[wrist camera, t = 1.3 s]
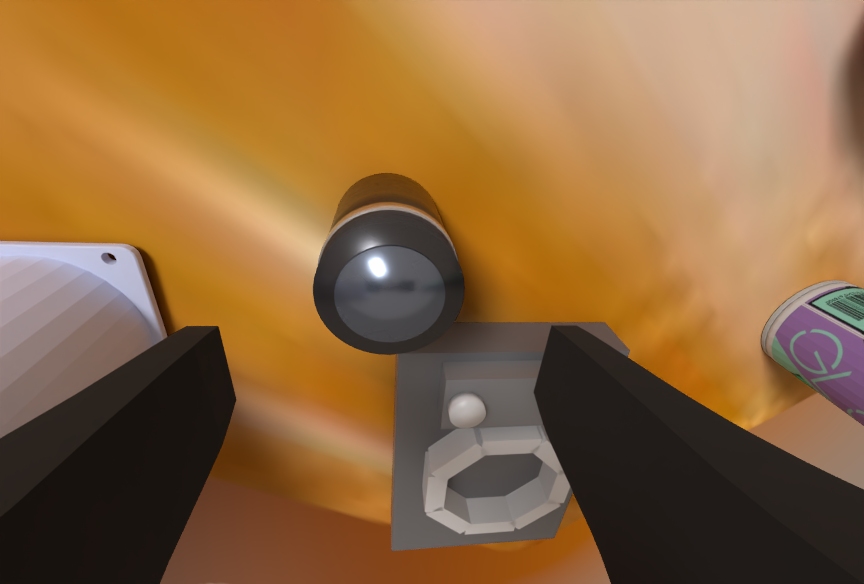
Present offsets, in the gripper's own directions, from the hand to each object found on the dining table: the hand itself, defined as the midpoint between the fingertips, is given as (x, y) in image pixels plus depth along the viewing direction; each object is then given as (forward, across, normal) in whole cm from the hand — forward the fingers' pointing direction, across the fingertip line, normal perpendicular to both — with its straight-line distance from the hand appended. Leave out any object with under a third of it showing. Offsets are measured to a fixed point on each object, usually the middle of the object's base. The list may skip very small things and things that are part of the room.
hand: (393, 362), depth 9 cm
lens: (+9, 0, 0) cm, 9 cm away
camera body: (+9, -6, +13) cm, 17 cm away
